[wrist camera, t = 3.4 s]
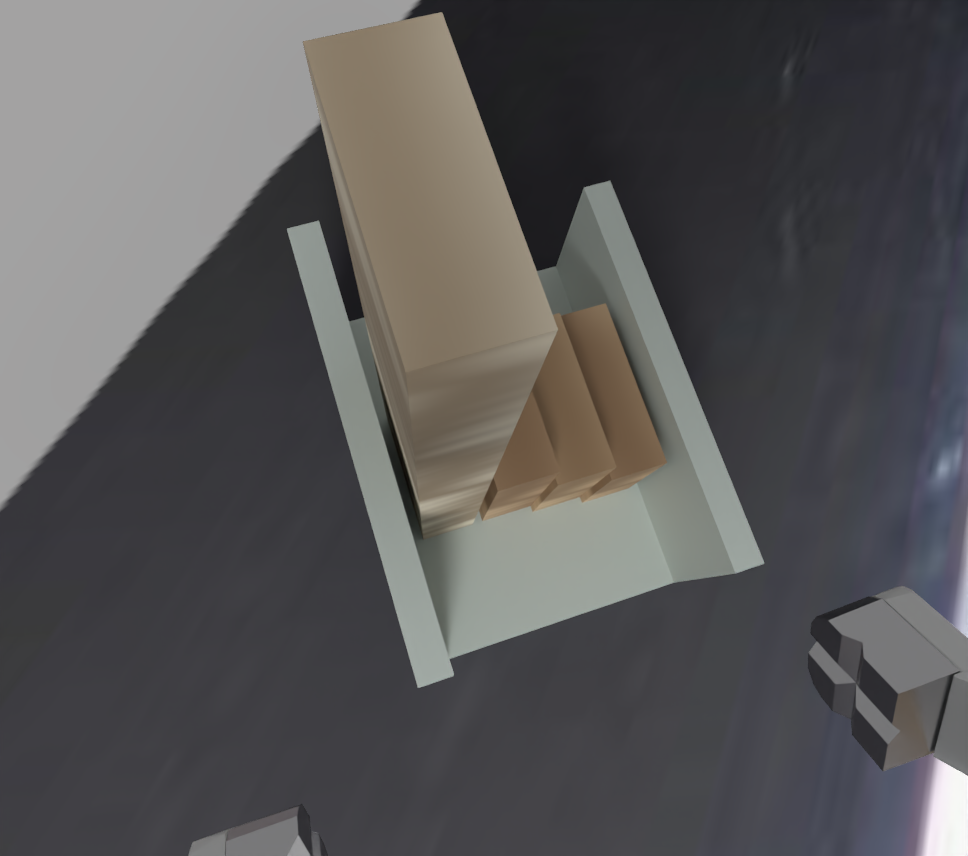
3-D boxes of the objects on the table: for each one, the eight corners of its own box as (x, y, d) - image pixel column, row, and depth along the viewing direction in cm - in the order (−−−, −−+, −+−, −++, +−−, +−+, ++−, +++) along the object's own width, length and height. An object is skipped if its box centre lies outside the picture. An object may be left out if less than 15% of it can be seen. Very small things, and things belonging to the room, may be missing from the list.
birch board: (435, 406, 30) (441, 12, 10) (472, 524, 29) (558, 330, 9) (387, 420, 29) (302, 41, 10) (423, 540, 28) (405, 372, 9)
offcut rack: (571, 276, 33) (624, 145, 24) (684, 576, 30) (795, 558, 21) (321, 343, 32) (276, 231, 22) (415, 668, 29) (407, 691, 19)
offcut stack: (578, 352, 31) (619, 277, 24) (628, 488, 29) (687, 449, 23) (440, 391, 30) (443, 325, 23) (486, 533, 29) (503, 507, 22)
